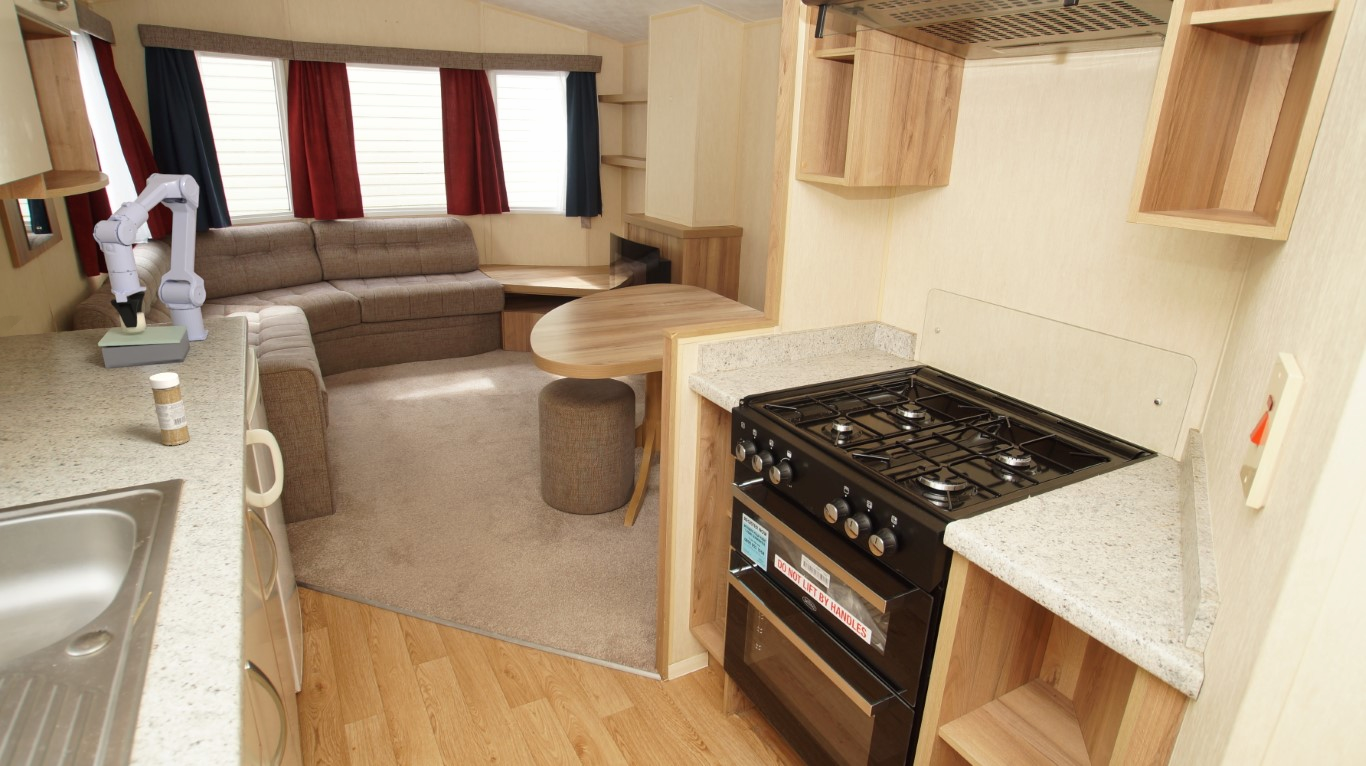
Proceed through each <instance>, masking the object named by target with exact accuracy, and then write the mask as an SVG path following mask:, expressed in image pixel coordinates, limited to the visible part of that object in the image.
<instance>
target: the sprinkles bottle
mask: <svg viewBox="0 0 1366 766" xmlns="http://www.w3.org/2000/svg"><path fill="white" fill-rule="evenodd" d="M148 381H149V386H150V389H151V391H152V395H153V400H154V406H155V411H156V416H157V421H158V427H159V429H160V433H161V438H162V441H161V442H162V444H163V445H165V446H169V445H172V446H179V444H180V445H184V444H185V443H187V441H188V442H189V441H190V440H191V436H190V434H189V429H188V422H187V417H186V411H185V406H184V401H183V398H182V394H181V393H182V392H181V388H180V377H179V374H178V373H176V372H170V371H169V372H167V371H166V372H161V373H155V374H153V375H151V376H149V378H148ZM183 443H184V444H183Z"/></svg>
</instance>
